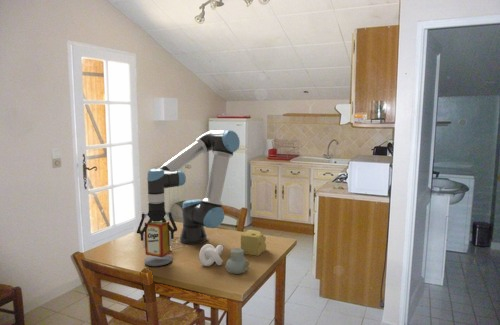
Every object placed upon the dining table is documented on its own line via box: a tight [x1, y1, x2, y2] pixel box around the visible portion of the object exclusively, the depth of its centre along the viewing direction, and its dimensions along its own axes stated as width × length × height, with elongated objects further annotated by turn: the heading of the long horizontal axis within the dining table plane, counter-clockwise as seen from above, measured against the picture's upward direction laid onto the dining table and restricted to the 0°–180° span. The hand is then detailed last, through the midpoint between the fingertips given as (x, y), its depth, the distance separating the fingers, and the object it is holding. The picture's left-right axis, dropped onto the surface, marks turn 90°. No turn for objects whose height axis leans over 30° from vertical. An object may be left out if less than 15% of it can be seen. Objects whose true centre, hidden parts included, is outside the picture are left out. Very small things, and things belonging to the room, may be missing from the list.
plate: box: [143, 254, 173, 267], centre depth 178 cm, size 13×13×1 cm
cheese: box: [240, 229, 267, 257], centre depth 191 cm, size 10×11×10 cm
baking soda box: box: [144, 220, 171, 257], centre depth 176 cm, size 10×6×16 cm
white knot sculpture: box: [198, 243, 224, 267], centre depth 174 cm, size 11×12×9 cm
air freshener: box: [225, 247, 250, 275], centre depth 166 cm, size 11×8×10 cm
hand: (157, 246), depth 177 cm, fingers closed on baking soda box, 11 cm apart
